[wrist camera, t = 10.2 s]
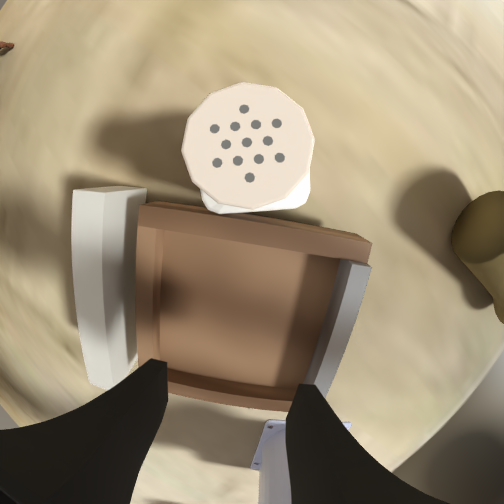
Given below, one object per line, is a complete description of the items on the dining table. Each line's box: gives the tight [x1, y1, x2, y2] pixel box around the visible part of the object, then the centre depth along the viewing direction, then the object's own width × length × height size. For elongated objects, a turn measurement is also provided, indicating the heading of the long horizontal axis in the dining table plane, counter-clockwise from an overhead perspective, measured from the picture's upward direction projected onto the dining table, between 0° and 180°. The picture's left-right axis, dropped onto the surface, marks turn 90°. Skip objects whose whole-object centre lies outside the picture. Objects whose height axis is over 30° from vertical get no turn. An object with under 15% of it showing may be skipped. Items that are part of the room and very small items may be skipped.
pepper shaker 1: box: [181, 82, 315, 214], centre depth 11 cm, size 4×4×10 cm
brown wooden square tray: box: [135, 201, 372, 412], centre depth 15 cm, size 11×11×4 cm
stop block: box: [71, 186, 147, 390], centre depth 15 cm, size 12×2×5 cm, turn 171°
